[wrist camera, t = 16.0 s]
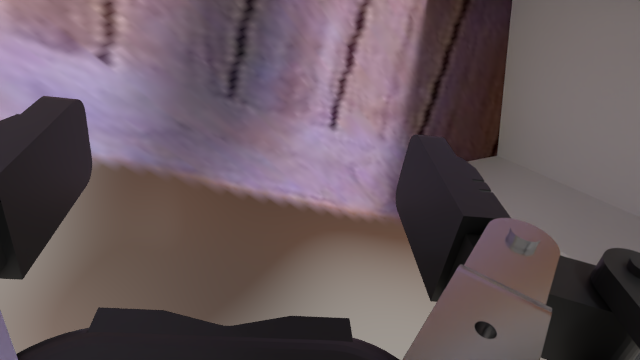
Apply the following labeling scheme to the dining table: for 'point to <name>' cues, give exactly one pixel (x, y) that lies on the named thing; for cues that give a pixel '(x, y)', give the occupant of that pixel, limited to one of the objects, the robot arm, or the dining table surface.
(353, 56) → the dining table surface
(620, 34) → the tall cream box
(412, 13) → the dining table surface
